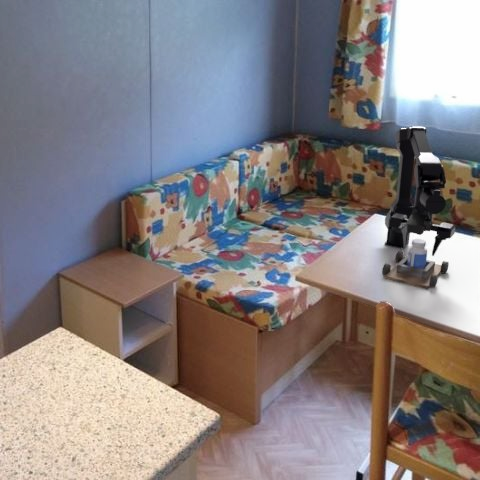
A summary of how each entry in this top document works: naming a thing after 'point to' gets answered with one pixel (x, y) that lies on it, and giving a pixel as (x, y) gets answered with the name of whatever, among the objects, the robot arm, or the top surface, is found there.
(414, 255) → the pill bottle
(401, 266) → the chassis
